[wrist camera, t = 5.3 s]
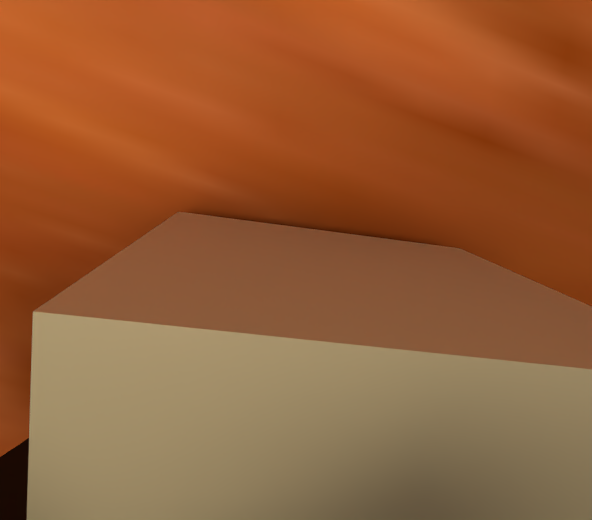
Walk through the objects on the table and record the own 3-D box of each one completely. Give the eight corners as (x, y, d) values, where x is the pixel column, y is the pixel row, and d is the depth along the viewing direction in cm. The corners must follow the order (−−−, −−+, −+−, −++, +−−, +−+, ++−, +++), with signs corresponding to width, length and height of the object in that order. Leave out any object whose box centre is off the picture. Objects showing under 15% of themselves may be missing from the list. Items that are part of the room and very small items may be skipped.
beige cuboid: (398, 529, 11) (563, 954, 5) (150, 514, 11) (13, 980, 5) (460, 248, 10) (778, 388, 4) (178, 211, 9) (34, 310, 3)
